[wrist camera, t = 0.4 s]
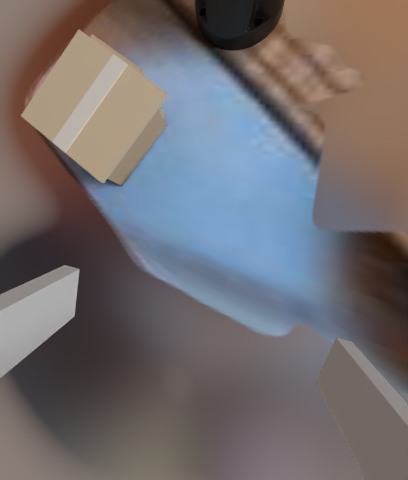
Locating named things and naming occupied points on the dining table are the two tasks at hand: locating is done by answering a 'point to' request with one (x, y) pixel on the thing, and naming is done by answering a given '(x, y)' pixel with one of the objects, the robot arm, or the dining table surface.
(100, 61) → the flap
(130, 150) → the carton
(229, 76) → the dining table surface
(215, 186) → the dining table surface
